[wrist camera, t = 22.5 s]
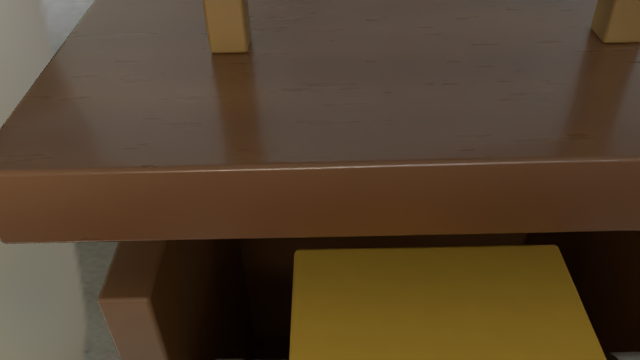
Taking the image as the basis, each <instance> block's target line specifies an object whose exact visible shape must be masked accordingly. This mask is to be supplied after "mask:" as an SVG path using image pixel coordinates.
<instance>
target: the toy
mask: <svg viewBox="0 0 640 360" xmlns="http://www.w3.org/2000/svg"><path fill="white" fill-rule="evenodd" d="M289 360H607V359H606V357H605V355H604V353H603V350H602V348H601V346H600V343H599V341H598V339H597V336H596V334H595V332H594V329H593V327H592V325H591V322H590V320H589V318H588V315H587V313H586V311H585V308H584V306H583V304H582V301H581V299H580V297H579V294H578V292H577V290H576V287H575V285H574V283H573V280H572V278H571V276H570V273H569V271H568V269H567V266H566V264H565V262H564V259H563V257H562V255H561V253H560V250H559V248H558V246H557V245H500V246H446V247H393V248H339V249H298V250H296V252H295V254H294V269H293V290H292V310H291V331H290V352H289Z"/></svg>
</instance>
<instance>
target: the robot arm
mask: <svg viewBox="0 0 640 360" xmlns="http://www.w3.org/2000/svg"><path fill="white" fill-rule="evenodd" d="M603 353H604V355H605V357H606V359H607V360H640V352H610V353H609V352H603ZM215 360H289V359H215Z"/></svg>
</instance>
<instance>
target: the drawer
mask: <svg viewBox="0 0 640 360" xmlns="http://www.w3.org/2000/svg"><path fill="white" fill-rule="evenodd" d="M0 241H1V242H2V243H5V244H16V243H66V242H115V241H119V242H118V245H117V248H116V251H115V253H114V256H113V259H112V262H111V264H110V267H109V270H108V272H107V275H106V278H105V281H104V283H103V286H102V289H101V291H100V294H99V297H98V304H99V306H100V309H101V312H102V314H103V317H104V319H105V322H106V324H107V327H108V329H109V332H110V335H111V337H112V340H113V342H114V345H115V347H116V350H117V352H118V355H119V357H120V360H215V359H289V352H290V331H291V310H292V290H293V269H294V254H295V252H296V250H298V249H339V248H393V247H446V246H500V245H557V246H558V248H559V250H560V253H561V255H562V257H563V259H564V262H565V264H566V266H567V269H568V271H569V273H570V276H571V278H572V280H573V283H574V285H575V287H576V290H577V292H578V294H579V297H580V299H581V301H582V304H583V306H584V308H585V311H586V313H587V315H588V318H589V320H590V322H591V325H592V327H593V329H594V332H595V334H596V336H597V339H598V341H599V343H600V346H601V348H602V350H603V352H609V353H610V352H640V0H95V1H94V2H93V4H92V5H91V6H90V8H89V9H88V10H87V12H86V13H85V14H84V16H83V17H82V18H81V20H80V21H79V23H78V24H77V25H76V27H75V28H74V29H73V31H72V32H71V33H70V35H69V36H68V37H67V39H66V40H65V42H64V43H63V44H62V46H61V47H60V48H59V50H58V51H57V52H56V54H55V55H54V56H53V58H52V59H51V61H50V62H49V63H48V65H47V66H46V68H45V69H44V70H43V71H42V73H41V74H40V76H39V77H38V78H37V80H36V81H35V82H34V84H33V85H32V86H31V88H30V89H29V91H28V92H27V93H26V95H25V96H24V97H23V99H22V100H21V101H20V103H19V104H18V105H17V107H16V108H15V110H14V111H13V112H12V114H11V115H10V116H9V118H8V119H7V120H6V122H5V123H4V124H3V126H2V127H1V128H0Z"/></svg>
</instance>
